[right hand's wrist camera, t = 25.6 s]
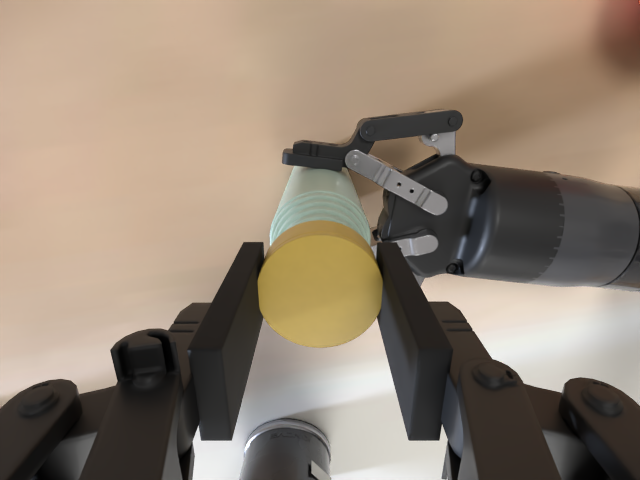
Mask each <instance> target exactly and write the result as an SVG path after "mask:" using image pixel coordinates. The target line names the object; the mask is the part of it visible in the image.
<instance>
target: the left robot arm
mask: <svg viewBox="0 0 640 480" xmlns="http://www.w3.org/2000/svg"><path fill="white" fill-rule="evenodd" d="M462 122H463V117H462V115H461V113H460V112H458V111H455V110H445V109H438V110H430V111H421V112H413V113H404V114H396V115H388V116H379V117H371V118H364V119H362V120H360V121H359V122H358V124H357V128H356V130H355V132H354V134H353V136H352V138H351V139H350V140H349V141H348V142H347V143H345V144H332V143H324V142H315V141H307V140H301V141H297V142H295V143H294V144H293V149H284V151H283V157H282V163H283V164H286V165H293V166H301V167H310V168H318V169H327V170H334V171H342V167H343V168H349V169H351V170H353V171H355V172H357V173H359V174H361V175H362V176H364V177H366V178H368V179H370V180H372V181H374V182H375V183H377V184H378V185H380V186H381V187H383V188H384V192H383V205H384V208H383V210H382V212H381V214H380V216H379V219H378V224H377V227H372V228H370V235H371V240H370V247H371V249H372V251H373V253H374V255H375V258H376V252H377V242H397V244H398V246H399V248H400V250H401V251H402V253H403V255H404V257H405V259H406V261H407V263H408V265H409V267H410V268H411V270H412V272H413V274H414V276H415V278H416V280H417V282H418V284H419V285H420V286H421V284H422V282H423V280H424V278H429V277H432V276H435V275H438V274H444V273H448V274H453V275H458V276H463V277H472V278H481V279H491V280H500V281H508V282H518V283H528V284H537V285H546V286H556V287H576V286H587V287H598V288H607V289H616V290H626V291H635V292H640V188H636V187H627V186H619V185H610V184H604V183H601V182H597V181H593V180H590V179H586V178H582V177H576V176H569V175H561V174H559V173H557V172H551V171H543V172H537V171H529V170H521V169H513V168H504V167H496V166H488V165H480V164H472V163H467V162H465V161H464V160H463V159H462V158H460V157H459V156H457V155H455V138H456V130H458V129H459V128H460V127H461V125H462ZM413 136H418V139H419V141H420V142H421V143H422V144H424V145H427V146H433V147H434V148H435V150H436V154H435V155H433V156H431V157H429V158H427V159H425V160H423V161H422V162H420V163H418V164H416V165H414V166H412V167H410V168H408V169H407V170H405V171H402V170H400V169H398V168H397V167H395V166H393V165H391V164H389V163H387V162H385V161H384V160H382V159H379V158H377V157H375V156H373V155H371V154H370V153H369V151H370V149H371V147H372V146H373V144H374V142H375V141H379V140H387V139H396V138H405V137H413ZM378 235H379V236H378ZM239 480H331V477H330V446H329V442H328V440H327V438H326V437H325V436H324V434H323V433H322V432H321V431H320V430H319V429H317V428H316V427H314V426H312V425H310V424H308V423H306V422H303V421H299V420H293V419H281V420H274V421H270V422H268V423H265V424H263V425H261V426H260V427H258V428H257V429H255V430H254V431H253V432H252V433H251V435H250V436H249V438H248V440H247V443H246V447H245V452H244V461H243V466H242V470H241V475H240V479H239Z"/></svg>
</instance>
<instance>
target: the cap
mask: <svg viewBox="0 0 640 480" xmlns="http://www.w3.org/2000/svg"><path fill="white" fill-rule="evenodd" d="M382 286H383V278H382V275H381V272H380V270H379V267H378V264H377V261H376V258H375V255H374V253H373V251H372V249H371V247H370V245H369V244H368V243H367V241H366V240H365V239H364V238H363V237H362V236H361V235H360V234H359V233H357V232H356V231H355V230H353V229H351V228H350V227H348V226H345V225H343V224H340V223H337V222H333V221H327V220H314V221H308V222H303V223H300V224H297V225H295V226H293V227H291V228H289V229H287V230H286V231H284V232H283V233H282V234H281V235H279V236H278V237H277V238H276V239H275V241H274V242H273V243H272V244H271V246H270V248H269V249H268V251H267V254H266V256H265V259H264V262H263V264H262V267H261V270H260V273H259V277H258V295H259V308H260V311H261V313H262V315H263V317H264V319H265V320H266V322H267V323H268V324H269V325H270V326H271V328H272V329H273V330H275V331H276V332H277V333H278V334H279V335H281V336H282V337H284V338H285V339H287V340H289V341H291V342H294V343H297V344H299V345H303V346H308V347H318V348H323V347H332V346H338V345H341V344H344V343H347V342H349V341H351V340H353V339H355V338H356V337H358V336H360V335H361V334H362V333H364V332H365V331H366V330H367V329H368V328H369V327H370V326H371V325H372V323H373V322H374V321H375V319H376V317H377V316H378V314H379V312H380V309H381V301H382Z"/></svg>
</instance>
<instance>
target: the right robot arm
mask: <svg viewBox="0 0 640 480" xmlns="http://www.w3.org/2000/svg"><path fill="white" fill-rule="evenodd" d="M376 261H377V264H378V267H379V270H380V272H381V275H382V278H383V286H382V301H381V309H380V312H379V314H378V316H377V319H378V323H379V327H380V331H381V335H382V339H383V343H384V346H385V350H386V354H387V358H388V362H389V366H390V370H391V374H392V377H393V381H394V385H395V389H396V393H397V397H398V401H399V405H400V409H401V412H402V416H403V420H404V424H405V428H406V432H407V436H408V440H439V439H440V433H441V426H442V425H443V427H444V430H445V433H446V435H447V438H448V442H447V448H446V454H445V460H444V466H443V473H442V479H445V480H447V477H448V480H640V406H639V405H638V404H637V403H636V402H635V401H634V400H633V399H632V398H630V397H629V396H628V395H626V394H625V393H624V392H622V391H621V390H619V389H617V388H615V387H613V386H611V385H609V384H607V383H604V382H601V381H598V380H594V379H589V378H574V379H570V380H569V381H568V382H566V383H565V385H564V388H563V391H562V393H560V392H556V391H551V390H547V389H542V388H537V387H533V386H530V385H527V384H524V383H523V381H522V380H521V378H520V377H519V375H518V374H517V373H516V372H515V371H514V370H513V369H511V368H510V367H509V366H507V365H505V364H503V363H501V362H499V361H497V360H493V359H492V358H491V357H490V355H489V354H488V352H487V350H486V349H485V347H484V346H483V344H482V343H481V341H480V340H479V338H478V337H477V335H476V334H475V332H474V331H472V328H471V326H470V325H469V323H467V320H466V319H465V317H464V316H463V314H462V313H461V311H460V310H459V309H457V308H456V307H455V306H453V305H452V304H450V303H449V302H428V301H427V299H426V297H425V295H424V293H423V291H422V289H421V287H420V285H419V284H418V282H417V280H416V278H415V276H414V274H413V272H412V270H411V268H410V267H409V265H408V263H407V261H406V259H405V257H404V255H403V253H402V251H401V250H400V248H399V246H398V244H397V242H377V252H376ZM263 262H264V245H263V242H244V243H243V245H242V247H241V248H240V250H239V252H238V254H237V256H236V258H235V260H234V262H233V264H232V265H231V267H230V269H229V271H228V273H227V275H226V277H225V279H224V281H223V282H222V284H221V286H220V288H219V290H218V292H217V294H216V296H215V298H214V299H213V301H212V303H192V304H190V305H189V306H188V307H186V308H185V309H183V310H182V311H181V312H180V313H179V315H178V316H177V318H176V319H175V321H174V324H172V325H171V327H170V328H169V330H164V329H146V330H142V331H137V332H135V333H132V334H130V335H128V336H125V337H124V338H123V339H121V340H120V341H118V342H117V343H116V344H115V345H114V346H113V347H112V349H111V350H110V351H111V356H112V360H113V364H114V368H115V372H116V376H117V380H118V382H117V384H116V386H112V387H109V388H105V389H101V390H96V391H92V392H87V393H83V394H79V393H78V390H77V386H76V385H75V384H74V383H73V382H72V381H70V380H64V379H57V380H48V381H45V382H42V383H38V384H36V385H33V386H31V387H29V388H27V389H25V390H23V391H21V392H20V393H18V394H17V395H16V396H14V397H13V398H12V399H10V400H9V401H8V402H7V403H6V404H5V405H4V406H3V407H2V408H0V480H192V477H193V467H194V457H195V455H194V448H193V442H192V441H193V438H194V436H195V433H196V430H197V428H198V425H199V430H200V436H201V441H204V440H232V437H233V433H234V429H235V426H236V422H237V418H238V414H239V410H240V406H241V402H242V398H243V395H244V391H245V387H246V383H247V379H248V375H249V371H250V367H251V364H252V360H253V356H254V352H255V348H256V344H257V340H258V336H259V332H260V329H261V325H262V321H263V315H262V313H261V311H260V308H259V295H258V277H259V273H260V270H261V267H262V264H263Z"/></svg>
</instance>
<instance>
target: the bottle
mask: <svg viewBox="0 0 640 480" xmlns="http://www.w3.org/2000/svg"><path fill="white" fill-rule="evenodd" d="M314 220H327V221H333V222H337V223H340V224H343V225H345V226H348V227H350V228H351V229H353V230H355V231H356V232H357V233H359V234H360V235H361V236H362V237H363V238H364V239H365V240H366V241H367V243H368V244H369V245H370V240H371V235H370V228H369V224H368V221H367V218H366V216H365V213H364V211H363V208H362V205H361V203H360V200H359V198H358V195H357V192H356V190H355V187H354V185H353V182H352V180H351V177H350V174H349V172H348V169H347V168H343V167H342V171H334V170H327V169H318V168H310V167H301V166H294V168H293V170H292V173H291V175H290V178H289V181H288V183H287V186H286V188H285V191H284V193H283V196H282V199H281V201H280V204H279V206H278V209H277V212H276V214H275V217H274V219H273V222H272V225H271V229H270V246H271V244H272V243H273V242H274V241H275V239H276V238H277V237H278V236H279V235H281V234H282V233H283V232H284V231H286V230H287V229H289V228H291V227H293V226H295V225H297V224H300V223H303V222H308V221H314Z"/></svg>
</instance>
